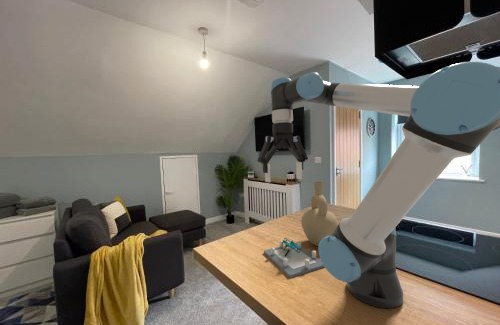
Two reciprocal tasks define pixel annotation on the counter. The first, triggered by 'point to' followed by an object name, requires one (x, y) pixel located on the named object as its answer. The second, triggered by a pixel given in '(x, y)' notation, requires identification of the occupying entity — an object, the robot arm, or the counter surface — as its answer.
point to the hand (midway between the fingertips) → (284, 180)
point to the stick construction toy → (290, 246)
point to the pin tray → (294, 260)
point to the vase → (318, 218)
